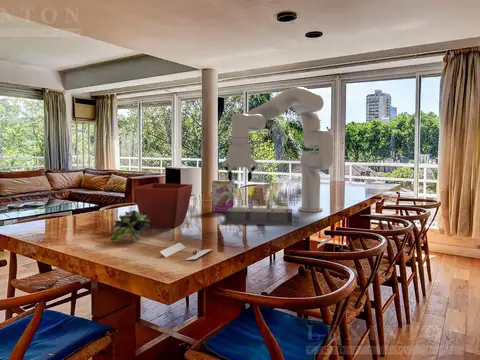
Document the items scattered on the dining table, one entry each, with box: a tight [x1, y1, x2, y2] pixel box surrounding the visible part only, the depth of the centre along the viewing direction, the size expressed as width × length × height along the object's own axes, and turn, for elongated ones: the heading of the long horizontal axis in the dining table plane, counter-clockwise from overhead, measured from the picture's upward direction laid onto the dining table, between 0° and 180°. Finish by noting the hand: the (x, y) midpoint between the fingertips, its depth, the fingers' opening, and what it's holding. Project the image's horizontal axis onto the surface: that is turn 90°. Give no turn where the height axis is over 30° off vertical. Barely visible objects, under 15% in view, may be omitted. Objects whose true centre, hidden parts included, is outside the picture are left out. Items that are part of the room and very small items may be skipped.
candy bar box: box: [211, 179, 235, 213], centre depth 187 cm, size 11×5×16 cm, turn 84°
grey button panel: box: [224, 207, 293, 226], centre depth 163 cm, size 14×29×5 cm, turn 81°
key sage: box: [272, 205, 288, 212], centre depth 161 cm, size 6×6×3 cm
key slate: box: [232, 204, 248, 211], centre depth 164 cm, size 6×6×3 cm
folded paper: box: [159, 242, 213, 261], centre depth 111 cm, size 12×12×2 cm
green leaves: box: [110, 209, 151, 244], centre depth 127 cm, size 13×12×14 cm
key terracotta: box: [251, 205, 268, 212], centre depth 163 cm, size 6×6×3 cm
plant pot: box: [133, 182, 193, 229], centre depth 153 cm, size 19×19×17 cm
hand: (239, 180), depth 163 cm, fingers open, 7 cm apart
